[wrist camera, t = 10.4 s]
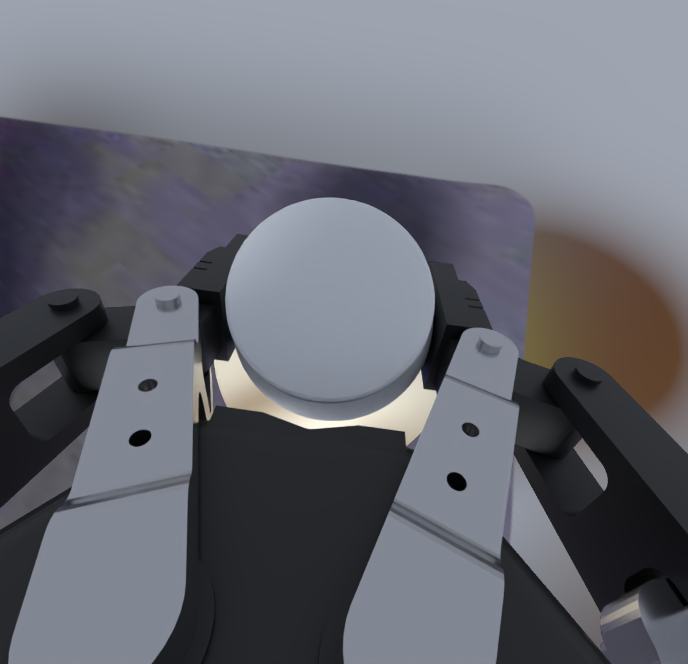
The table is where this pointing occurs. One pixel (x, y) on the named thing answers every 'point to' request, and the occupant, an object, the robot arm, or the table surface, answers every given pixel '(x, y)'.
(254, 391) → the small wooden stool
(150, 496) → the robot arm
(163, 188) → the table surface
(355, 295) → the pill bottle
